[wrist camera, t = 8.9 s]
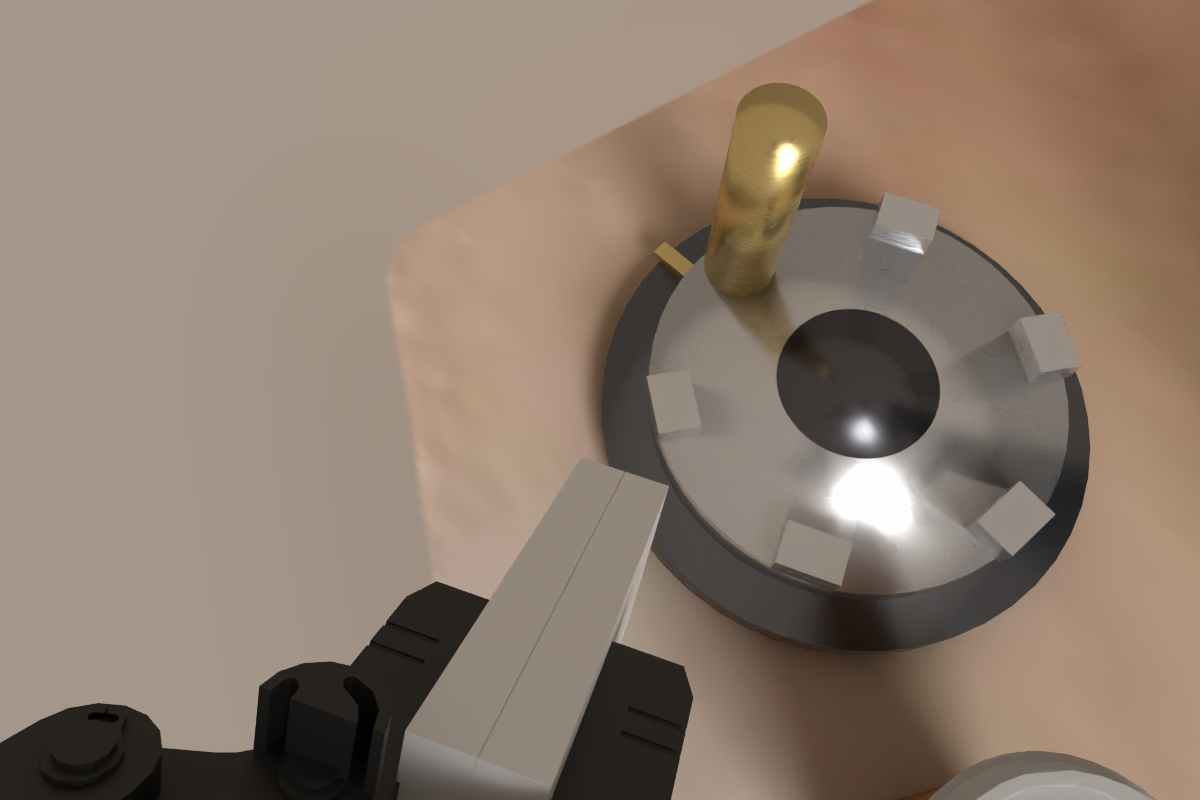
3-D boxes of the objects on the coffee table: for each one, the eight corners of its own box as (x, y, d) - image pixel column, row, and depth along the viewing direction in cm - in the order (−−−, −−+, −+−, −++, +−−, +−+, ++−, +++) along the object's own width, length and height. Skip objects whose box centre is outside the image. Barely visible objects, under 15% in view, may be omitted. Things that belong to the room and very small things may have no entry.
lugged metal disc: (1131, 426, 39) (1341, 296, 28) (850, 695, 35) (968, 667, 24) (840, 167, 45) (921, -28, 34) (564, 373, 40) (553, 227, 29)
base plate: (1100, 287, 44) (1121, 267, 42) (1034, 729, 36) (1057, 728, 34) (681, 167, 47) (684, 144, 45) (535, 556, 39) (532, 546, 37)
